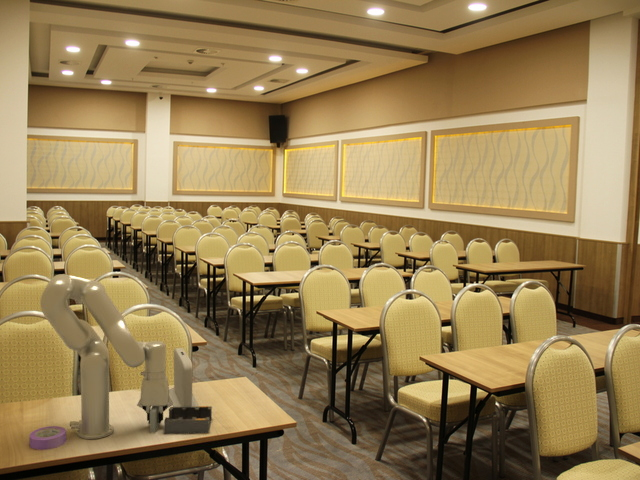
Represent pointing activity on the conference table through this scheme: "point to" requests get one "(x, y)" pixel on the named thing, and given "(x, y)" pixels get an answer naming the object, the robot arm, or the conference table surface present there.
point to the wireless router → (182, 381)
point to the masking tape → (47, 437)
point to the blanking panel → (154, 418)
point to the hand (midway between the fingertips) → (155, 421)
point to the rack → (188, 420)
